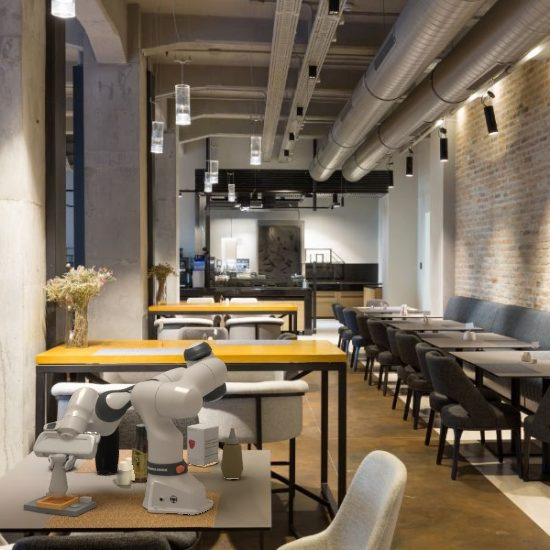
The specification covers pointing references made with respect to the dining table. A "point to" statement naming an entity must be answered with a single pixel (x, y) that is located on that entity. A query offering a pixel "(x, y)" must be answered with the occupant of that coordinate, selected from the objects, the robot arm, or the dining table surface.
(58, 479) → the salt shaker
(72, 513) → the panel
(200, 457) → the supplement box
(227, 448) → the squeeze bottle
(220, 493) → the dining table surface
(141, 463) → the sauce bottle
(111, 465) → the portable speaker
